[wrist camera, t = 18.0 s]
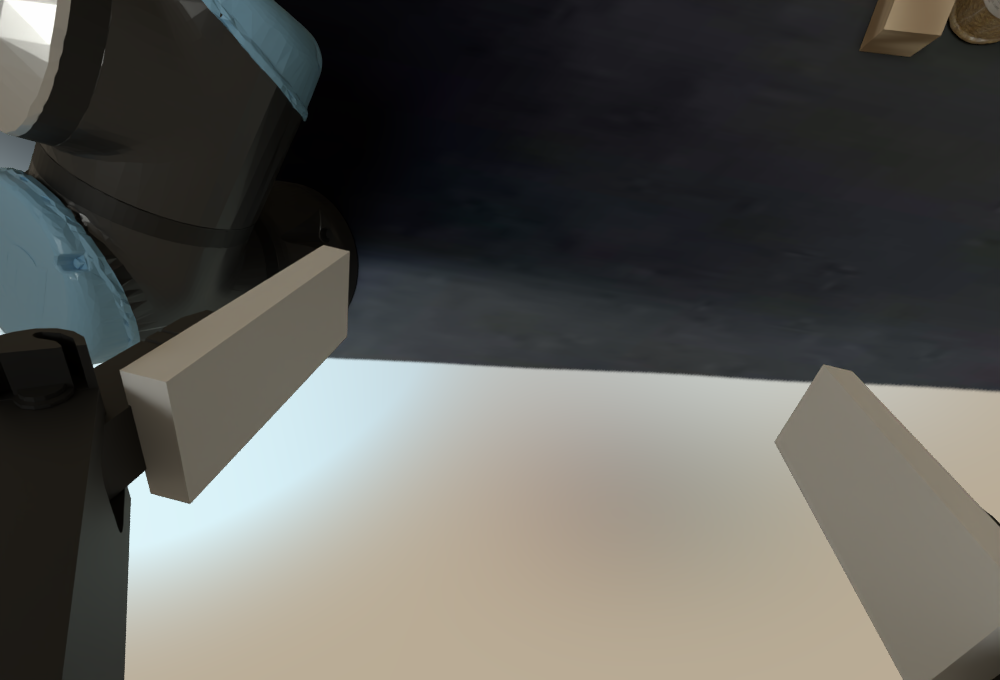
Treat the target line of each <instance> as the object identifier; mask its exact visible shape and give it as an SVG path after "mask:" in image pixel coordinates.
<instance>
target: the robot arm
mask: <svg viewBox="0 0 1000 680" xmlns="http://www.w3.org/2000/svg"><path fill="white" fill-rule="evenodd" d="M321 70H322V56H321V52H320V49H319V46H318V44H317V42H316V40H315V39H314V37H313V36H312V35H311V34H310V32H309V31H308V30H307V29H305V28H304V27H303V26H302V25H301V24H300V23H299V22H298V21H297V20H296V19H295V18H293V17H292V16H291V15H290V14H289V13H288V12H286V11H285V10H284V9H283V8H282V7H281V6H280V5H278V4H277V3H276V2H275V1H274V0H0V131H2V132H4V133H6V134H9V135H12V136H16V137H20V138H24V139H27V140H31V141H35V142H36V145H35V149H34V153H33V155H32V159H31V163H30V166H29V169H28V170H27V171H26V172H23V171H21V170H16V169H14V168H0V328H1V329H2V330H3V331H4V332H5V333H6V334H3V335H0V680H124V670H125V643H126V642H125V641H126V614H127V588H128V587H127V586H128V561H129V532H130V506H131V498H130V494H129V491H128V487H127V486H128V485H129V484H130V483H131V482H132V481H133V480H134V479H136V478H137V477H138V476H139V475H140V474H142V473H143V472H144V471H145V472H146V477H147V481H148V484H149V488H150V492H151V494H155V495H158V496H162V497H166V498H170V499H174V500H178V501H181V502H185V503H189V504H190V503H191V502H192V501H193V500H194V499H195V498H196V497H197V496H198V495H199V494H200V493H201V492H202V491H203V489H204V488H205V487H206V486H207V485H208V484H209V483H210V482H211V481H212V480H213V479H214V478H215V477H216V476H217V475H218V474H219V473H220V471H221V470H222V469H223V468H224V467H225V466H226V465H227V464H228V463H229V462H230V461H231V459H233V457H234V456H235V455H236V454H237V453H238V452H239V451H240V450H241V449H242V448H243V447H244V446H245V445H246V444H247V443H248V442H249V441H250V439H251V438H252V437H253V436H254V435H255V434H256V433H257V432H258V431H259V430H260V429H261V428H262V427H263V426H264V424H265V423H266V422H267V421H268V420H269V419H270V418H271V417H272V416H273V415H274V414H275V413H276V412H277V411H278V409H279V408H280V407H281V406H282V405H283V404H284V403H285V402H286V401H287V400H288V399H289V398H290V397H291V396H292V395H293V394H294V393H295V391H296V390H297V389H298V388H299V387H300V386H301V385H302V384H303V383H304V382H305V381H306V380H307V379H308V378H309V376H310V375H311V374H312V373H313V372H314V371H315V370H316V369H317V368H318V367H319V366H320V365H321V364H322V363H323V361H325V359H326V358H327V357H328V356H329V355H330V354H331V353H332V352H333V351H334V350H335V349H336V348H337V347H338V346H339V345H340V343H341V342H342V341H343V340H344V339H345V338H346V337H347V320H348V305H349V303H350V301H351V299H352V296H353V293H354V290H355V286H356V281H357V271H358V263H357V253H356V248H355V244H354V240H353V237H352V234H351V232H350V229H349V227H348V225H347V223H346V221H345V219H344V218H343V216H342V215H341V213H340V212H339V211H338V209H337V208H336V207H335V206H334V205H333V203H331V202H330V201H329V200H328V199H327V198H326V197H325V196H324V195H322V194H321V193H319V192H318V191H316V190H314V189H312V188H310V187H308V186H305V185H302V184H297V183H291V182H285V181H275V179H276V177H277V175H278V173H279V170H280V168H281V166H282V164H283V161H284V159H285V157H286V155H287V152H288V150H289V148H290V146H291V143H292V141H293V139H294V137H295V134H296V132H297V130H298V128H299V125H300V123H301V121H302V120H303V121H306V119H307V117H308V112H307V107H308V105H309V102H310V100H311V97H312V95H313V92H314V89H315V87H316V84H317V82H318V79H319V77H320V74H321ZM97 363H102V364H100V365H98V366H97V367H95V368H93V364H97ZM775 444H776V446H777V448H778V449H779V451H780V453H781V455H782V457H783V459H784V461H785V462H786V464H787V466H788V468H789V470H790V472H791V473H792V475H793V477H794V479H795V481H796V483H797V485H798V486H799V488H800V490H801V492H802V494H803V496H804V497H805V499H806V501H807V503H808V505H809V507H810V508H811V510H812V512H813V514H814V516H815V518H816V520H817V521H818V523H819V525H820V527H821V529H822V531H823V533H824V534H825V536H826V538H827V540H828V542H829V544H830V545H831V547H832V549H833V551H834V553H835V554H836V556H837V558H838V560H839V562H840V564H841V566H842V568H843V569H844V571H845V573H846V575H847V577H848V579H849V580H850V582H851V584H852V586H853V588H854V590H855V592H856V594H857V595H858V597H859V599H860V601H861V603H862V605H863V606H864V608H865V610H866V612H867V614H868V616H869V617H870V619H871V621H872V623H873V625H874V627H875V629H876V630H877V632H878V634H879V636H880V638H881V640H882V641H883V643H884V645H885V647H886V649H887V651H888V653H889V654H890V656H891V658H892V660H893V662H894V663H895V666H896V667H897V669H898V671H899V673H900V675H901V676H902V678H903V680H1000V523H999V522H998V521H997V520H996V519H995V518H994V517H993V516H991V515H990V514H989V513H987V512H986V511H985V510H983V509H982V508H981V507H980V506H979V504H978V503H977V502H976V501H974V499H973V498H972V497H971V496H970V495H969V494H968V493H967V492H966V491H965V490H964V489H963V488H962V487H961V485H960V484H959V483H958V482H957V481H956V480H955V479H954V478H953V477H952V476H951V475H950V474H949V473H948V472H947V471H946V470H945V469H944V468H943V467H942V465H941V464H940V463H939V462H938V461H937V460H936V459H935V458H934V457H933V456H932V455H931V454H930V453H929V452H928V451H927V450H926V449H925V448H924V446H923V445H922V444H921V443H920V442H919V441H918V440H917V439H916V438H915V437H914V436H913V435H912V434H911V433H910V432H909V431H908V430H907V429H906V427H905V426H904V425H903V424H902V423H901V422H900V421H899V420H898V419H897V418H896V417H895V416H894V415H893V414H892V413H891V412H890V411H889V410H888V409H887V407H886V406H885V405H884V404H883V403H882V402H881V401H880V400H879V399H878V398H877V397H876V396H875V395H874V394H873V393H872V392H871V391H870V390H869V388H868V387H867V386H866V385H865V384H864V383H863V382H862V381H861V380H860V379H859V378H858V377H857V376H856V375H855V374H854V373H853V372H852V371H849V370H845V369H840V368H836V367H832V366H828V365H824V364H823V366H822V367H821V369H820V371H819V372H818V374H817V375H816V377H815V378H814V380H813V382H812V383H811V385H810V386H809V388H808V390H807V391H806V393H805V395H804V396H803V398H802V399H801V401H800V402H799V404H798V406H797V407H796V409H795V410H794V412H793V413H792V415H791V417H790V418H789V420H788V421H787V423H786V424H785V426H784V428H783V429H782V431H781V433H780V434H779V435H778V437H777V439H776V440H775Z"/></svg>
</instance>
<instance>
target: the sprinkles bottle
mask: <svg viewBox="0 0 1000 680" xmlns="http://www.w3.org/2000/svg"><path fill="white" fill-rule="evenodd" d="M949 22H950V27H951V28H952V30H953V32H954V33H955V34H956V35H957V36H958V37H959V38H960V39H963V40H964V41H966V42H969V43H973V44H986V43H994V42H998V41H1000V0H955V3H954V5H953V7H952V10H951V12H950V15H949Z"/></svg>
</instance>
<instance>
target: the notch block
mask: <svg viewBox="0 0 1000 680" xmlns="http://www.w3.org/2000/svg"><path fill="white" fill-rule="evenodd" d="M954 3H955V0H878V2H877V4H876V7H875V10H874V13H873V15H872V18H871V21H870V23H869V26H868V29H867V31H866V34H865V37H864V39H863V42H862V45H861V47H860V50H859V51H864V52H873V53H881V54H890V55H898V56H906V57H910V56H912V55H913V54H915V53H916V52H918V51H919V50H921V49H922V48H923V47H925V46H926V45H928V44H929V43H931V42H932V41H934V40H935V39H937V38H938V37H939V36H941V34H942V32H943V29H944V27H945V24H946V22H947V19H948V17H949V15H950V12H951V10H952V7H953V5H954Z"/></svg>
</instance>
